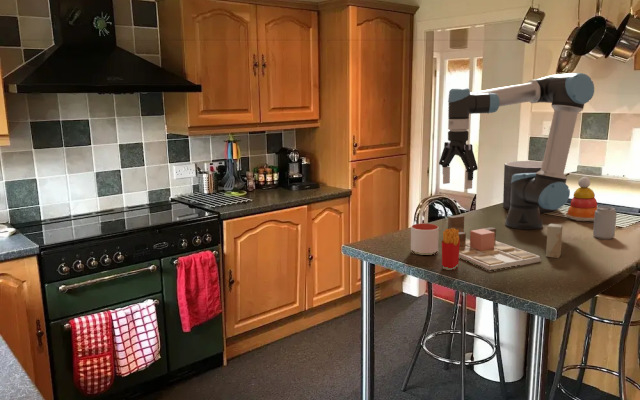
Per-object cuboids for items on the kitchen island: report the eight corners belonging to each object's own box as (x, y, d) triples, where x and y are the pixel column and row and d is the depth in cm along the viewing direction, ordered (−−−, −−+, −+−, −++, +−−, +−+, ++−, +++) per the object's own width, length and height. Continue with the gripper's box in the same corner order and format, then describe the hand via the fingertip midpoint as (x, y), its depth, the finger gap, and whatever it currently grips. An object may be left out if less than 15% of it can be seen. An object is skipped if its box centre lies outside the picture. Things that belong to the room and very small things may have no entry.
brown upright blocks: (447, 240, 202) (448, 216, 200) (459, 238, 204) (460, 214, 203) (485, 255, 182) (486, 229, 180) (498, 252, 184) (499, 227, 183)
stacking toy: (589, 215, 240) (593, 173, 237) (607, 222, 226) (611, 178, 223) (559, 216, 240) (562, 174, 236) (575, 223, 226) (578, 179, 222)
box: (558, 258, 180) (560, 227, 178) (545, 256, 182) (547, 226, 180) (560, 254, 184) (562, 224, 182) (547, 252, 187) (549, 223, 185)
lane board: (445, 252, 191) (445, 247, 190) (492, 244, 199) (492, 239, 199) (489, 271, 169) (489, 266, 169) (540, 261, 177) (540, 256, 177)
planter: (566, 207, 256) (570, 163, 252) (540, 216, 241) (543, 169, 236) (519, 200, 276) (521, 159, 271) (492, 208, 260) (494, 164, 256)
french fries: (450, 272, 170) (451, 233, 167) (438, 269, 172) (439, 232, 170) (461, 264, 177) (462, 227, 174) (449, 262, 179) (450, 226, 177)
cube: (469, 246, 190) (470, 230, 189) (482, 244, 192) (483, 228, 191) (480, 250, 184) (481, 234, 183) (494, 248, 187) (494, 232, 185)
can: (617, 240, 199) (619, 210, 197) (596, 239, 201) (598, 209, 199) (610, 235, 207) (613, 205, 204) (590, 234, 208) (592, 205, 206)
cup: (422, 258, 184) (422, 231, 182) (405, 251, 193) (405, 225, 191) (444, 254, 189) (444, 227, 187) (426, 247, 198) (426, 222, 196)
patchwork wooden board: (448, 249, 191) (448, 233, 189) (491, 242, 198) (491, 227, 197) (489, 266, 171) (489, 249, 169) (534, 258, 178) (535, 241, 177)
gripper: (430, 129, 204) (429, 182, 208) (471, 132, 181) (470, 192, 185) (446, 128, 206) (445, 180, 211) (488, 131, 184) (486, 190, 188)
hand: (457, 186), depth 198 cm, fingers open, 13 cm apart
